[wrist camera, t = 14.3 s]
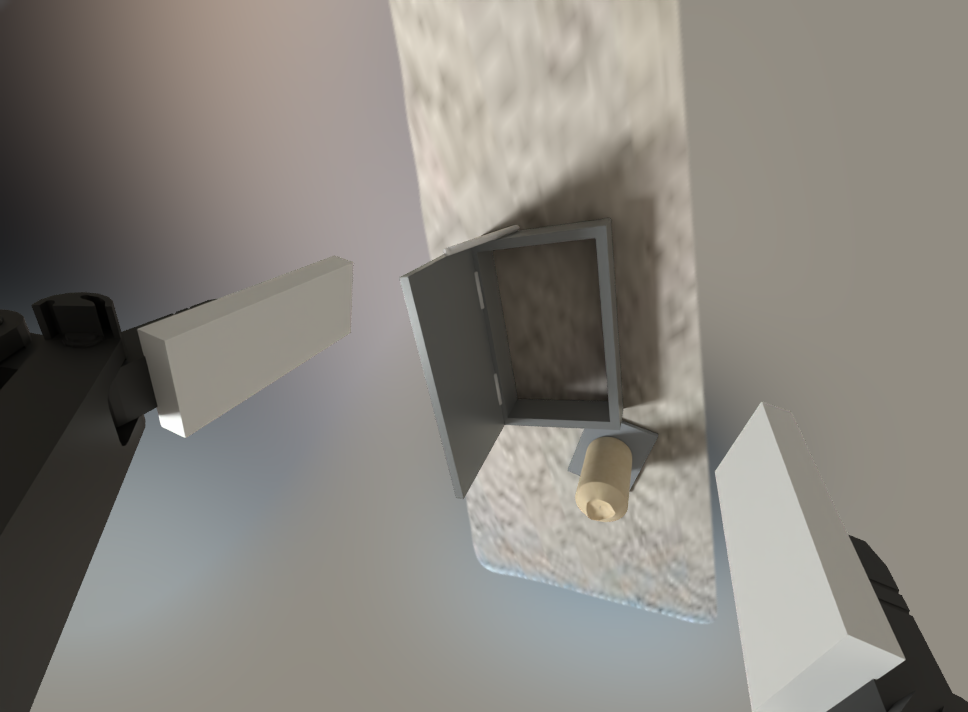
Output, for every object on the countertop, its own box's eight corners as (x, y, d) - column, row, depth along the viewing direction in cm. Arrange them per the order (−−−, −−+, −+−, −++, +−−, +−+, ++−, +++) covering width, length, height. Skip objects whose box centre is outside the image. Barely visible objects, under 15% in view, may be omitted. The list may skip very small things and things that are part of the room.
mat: (592, 409, 53) (591, 411, 52) (658, 434, 51) (658, 437, 51) (568, 467, 58) (567, 470, 57) (627, 492, 56) (627, 495, 56)
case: (476, 229, 48) (394, 268, 34) (610, 210, 43) (583, 246, 28) (508, 405, 57) (454, 497, 42) (623, 408, 51) (607, 516, 37)
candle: (608, 479, 56) (598, 539, 47) (577, 449, 55) (562, 505, 47) (642, 459, 53) (638, 519, 44) (610, 428, 52) (599, 482, 44)
